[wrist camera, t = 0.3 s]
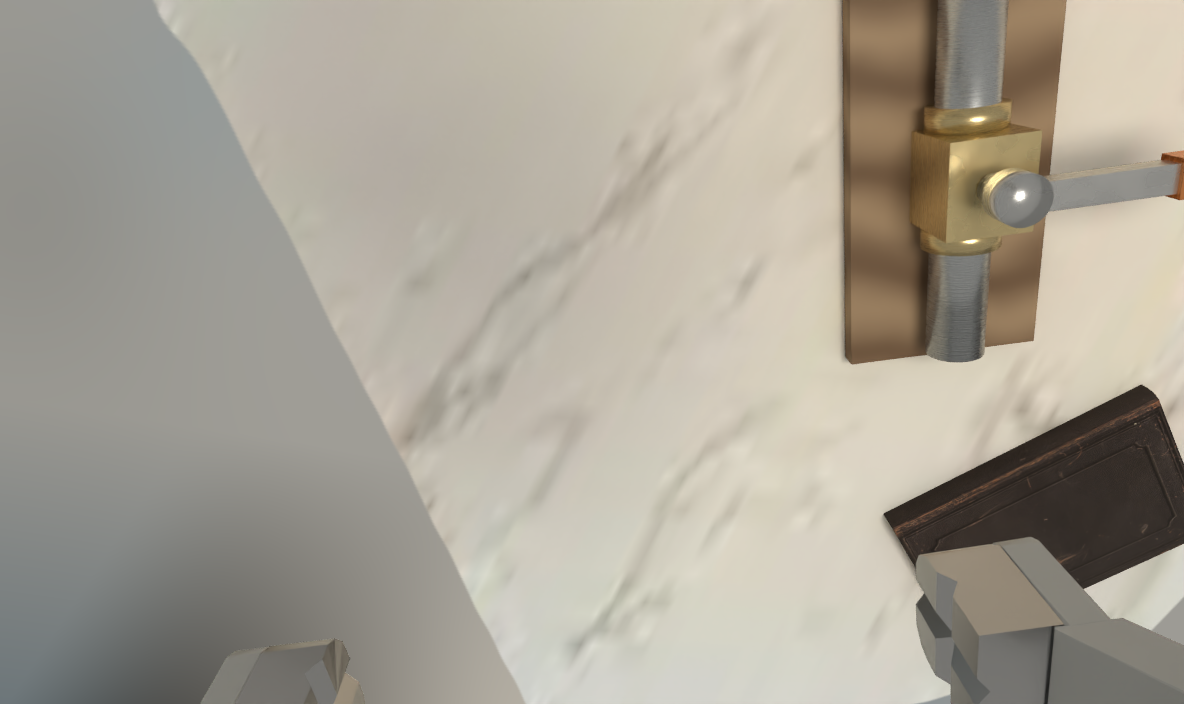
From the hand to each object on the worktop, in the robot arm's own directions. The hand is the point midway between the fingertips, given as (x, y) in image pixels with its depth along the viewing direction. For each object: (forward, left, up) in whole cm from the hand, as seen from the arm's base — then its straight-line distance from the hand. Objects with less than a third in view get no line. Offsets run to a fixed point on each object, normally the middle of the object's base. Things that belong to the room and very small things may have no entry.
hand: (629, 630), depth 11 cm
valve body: (+5, +25, -47) cm, 54 cm away
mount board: (+5, +25, -47) cm, 54 cm away
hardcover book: (+37, +35, -48) cm, 70 cm away
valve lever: (+5, +32, -38) cm, 50 cm away
